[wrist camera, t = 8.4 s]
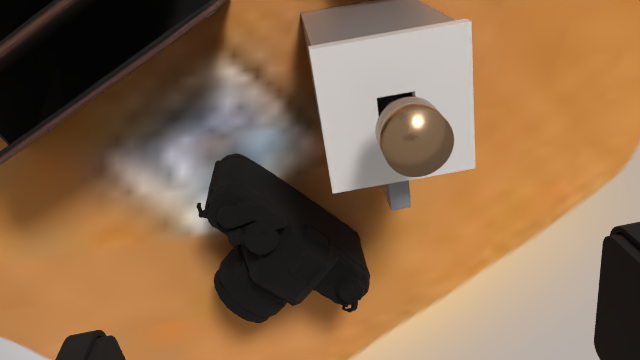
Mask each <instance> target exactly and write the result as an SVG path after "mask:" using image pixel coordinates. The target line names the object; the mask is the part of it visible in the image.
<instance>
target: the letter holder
mask: <svg viewBox="0 0 640 360" xmlns="http://www.w3.org/2000/svg"><path fill="white" fill-rule="evenodd" d="M226 1H227V0H0V137H1V138H2V139H3V140H4V141H5V142H6V143H7V144H8V145H9V146H7V147H6V148H4V149H3V150H2V151H0V165H1V164H3V163H4V162H5V161H7V160H8V159H10V158H11V157H12V156H14V155H15V154H17V153H18V152H20V151H21V150H23V149H24V148H25V147H26V146H28V145H29V144H31V143H33V142H34V141H35V140H37V139H38V138H40V137H41V136H43V135H44V134H46V133H47V132H49V131H50V130H51V129H53V128H54V127H55V126H57V125H58V124H59V123H61V122H63V121H64V120H65V119H67V118H68V117H69V116H71V115H72V114H73V113H75V112H77V111H78V110H79V109H81V108H82V107H83V106H85V105H86V104H88V103H90V102H91V101H92V100H93V99H95V98H96V97H98V96H99V95H100V94H101V93H103V92H104V91H106V90H107V89H109V88H110V87H111V86H113V85H114V84H116V83H117V82H119V81H120V80H121V79H123V78H124V77H125V76H126V75H128V74H129V73H131V72H132V71H134V70H135V69H137V68H138V67H139V66H141V65H142V64H144V63H145V62H146V61H148V60H149V59H151V58H152V57H154V56H155V55H156V54H158V53H159V52H161V51H162V50H164V49H165V48H166V47H168V46H169V45H170V44H172V43H173V42H174V41H176V40H177V39H179V38H180V37H181V36H183V35H184V34H185V33H187V32H188V31H189V30H191V29H192V28H194V27H195V26H196V25H198V24H199V23H201V22H202V21H203V20H205V19H206V18H208V17H209V16H211V15H212V14H214V13H215V12H216V11H217V10H218V9H219V8H220V7H221V6H222V5H223V4H224V3H225V2H226Z"/></svg>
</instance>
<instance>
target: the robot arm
mask: <svg viewBox="0 0 640 360" xmlns="http://www.w3.org/2000/svg"><path fill="white" fill-rule="evenodd" d="M594 345H595V349H596V352H597V354H598V356H599V358H600V360H640V222H636V223H632V224H627V225H621V226H617V227H614V228H613V229H612V231H611V234H610V236H607V237H605V239H604V241H603V248H602V258H601V269H600V280H599V292H598V302H597V313H596V325H595V335H594ZM56 360H126V359H125V357H124V355H123V353H122V351H121V349H120V347H119V345H118V342H117V340H116V339H115V337H113V336H106V334H105V333H104V332H103V331H102V330H95V331H90V332H85V333H80V334H75V335H70V336H69V337H67V338H66V339H65V341H64V343H63V345H62V347H61V349H60V351H59V353H58V355H57V358H56Z"/></svg>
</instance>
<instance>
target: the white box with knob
mask: <svg viewBox="0 0 640 360" xmlns="http://www.w3.org/2000/svg"><path fill="white" fill-rule="evenodd" d="M301 17H302V23H303V29H304V35H305V41H306V48H307V54H308V60H309V66H310V72H311V78H312V84H313V90H314V96H315V102H316V108H317V114H318V118H319V122H320V126H321V131H322V135H323V140H324V146H325V152H326V158H327V164H328V170H329V176H330V182H331V188H332V193H333V194H334V193H339V192H345V191H351V190H356V189H362V188H368V187H373V186H379V185H381V187H382V189H383V191H384V194H385V196H386V198H387V201H388V203H389V206H390V208H391V210H397V209H403V208H409V207H411V201H410V190H409V180H413V179H418V178H424V177H430V176H435V175H441V174H447V173H452V172H458V171H463V170H469V169H475V138H474V100H473V63H472V26H471V21H470V20H468V19H461V20H455V19H453V18H451V17H449V16H447V15H445V14H443V13H442V12H440V11H438V10H436V9H434V8H432V7H430V6H428V5H426V4H424V3H423V2H421V1H419V0H372V1H366V2H361V3H355V4H349V5H343V6H338V7H332V8H326V9H321V10H315V11H309V12H303V13H301ZM408 92H412V97H419V98H423V99H425V100H427V101H429V102H430V103H431V104H432V105H434V107H435V108H436V109H437V110H438V111H439V112H440V113H441V114H442V116H443V117H444V118H445V119H446V120H447V121H448V122H449V124H450V126H451V128H452V130H453V134H454V146H453V150H452V153H451V155H450V157H449V159H448V160H447V161H446V163H445V164H444V165H443V166H442V167H441V168H439V169H438V170H437V171H435V172H433V173H431V174H429V175H426V176H422V177H407V176H403V175H401V174H399V173H397V172H396V171H394V170H393V169H392V168H391V167H390V166H389V164H388V163H387V161H386V159H385V157H384V155H383V153H382V151H381V149H380V147H379V145H378V143H377V140H376V135H375V128H376V123H377V120H378V118H379V116H380V114H381V113H378V106H377V98H379V97H385V96H391V95H396V94H402V93H408Z"/></svg>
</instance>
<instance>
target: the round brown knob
mask: <svg viewBox="0 0 640 360" xmlns="http://www.w3.org/2000/svg"><path fill="white" fill-rule="evenodd" d="M377 106H378V113H381V114H380V116H379V118H378V120H377V123H376V128H375V135H376V140H377V143H378V145H379V147H380V149H381V151H382V153H383V155H384V157H385V159H386V161H387V163H388V164H389V166H390V167H391V168H392V169H393V170H394V171H396V172H397V173H399V174H401V175H403V176H407V177H422V176H426V175H429V174H431V173H433V172H435V171H437V170H438V169H439V168H441V167H442V166H443V165H444V164H445V163H446V161H447V160H448V159H449V157H450V155H451V153H452V150H453V146H454V134H453V130H452V128H451V126H450V124H449V122H448V121H447V120H446V119H445V118H444V117H443V116H442V114H441V113H440V112H439V111H438V110H437V109H436V108H435V107H434V105H432V104H431V103H430V102H429V101H427V100H425V99H423V98H419V97H412V92H408V93H402V94H396V95H391V96H385V97H379V98H377Z"/></svg>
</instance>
